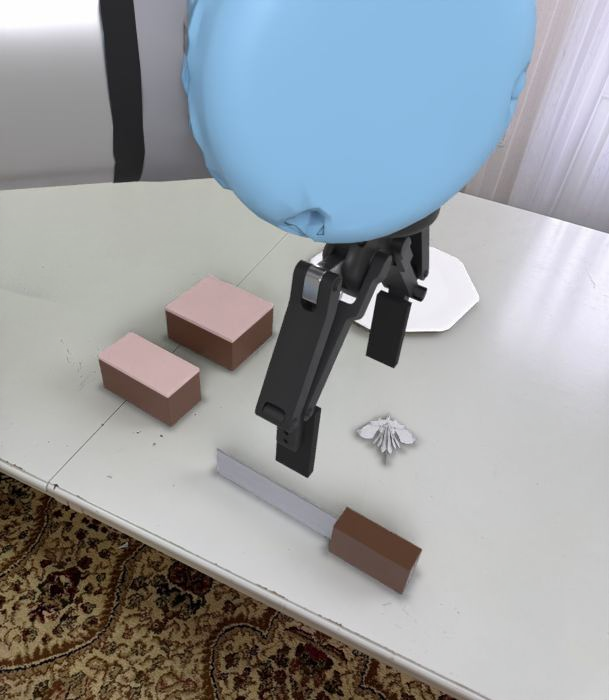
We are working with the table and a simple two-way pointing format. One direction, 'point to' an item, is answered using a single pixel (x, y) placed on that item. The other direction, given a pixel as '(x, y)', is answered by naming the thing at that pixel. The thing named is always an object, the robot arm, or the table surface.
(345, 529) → the cake knife
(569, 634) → the table surface
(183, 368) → the cake slice
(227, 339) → the cake
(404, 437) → the flower
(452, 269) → the plate
